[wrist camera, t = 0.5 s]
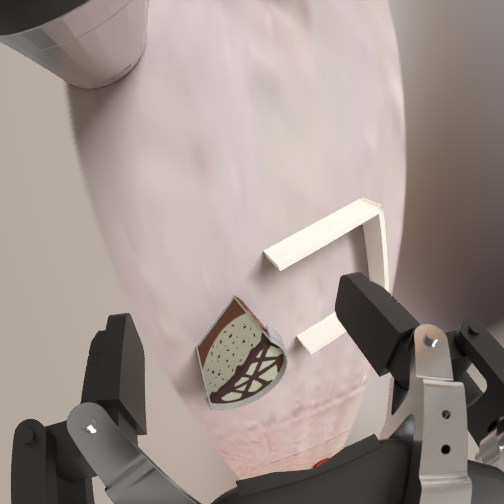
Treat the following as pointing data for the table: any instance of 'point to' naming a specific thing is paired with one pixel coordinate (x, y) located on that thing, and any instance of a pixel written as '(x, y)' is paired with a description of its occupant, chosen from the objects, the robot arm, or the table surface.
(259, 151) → the table surface
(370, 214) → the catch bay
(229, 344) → the food container
